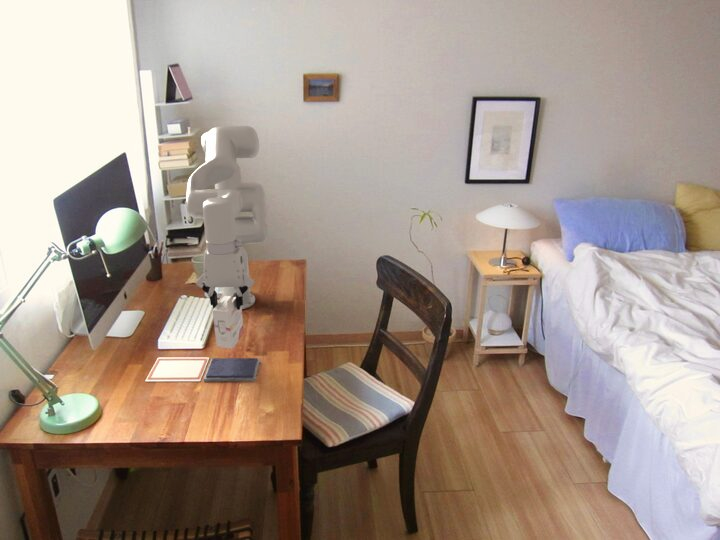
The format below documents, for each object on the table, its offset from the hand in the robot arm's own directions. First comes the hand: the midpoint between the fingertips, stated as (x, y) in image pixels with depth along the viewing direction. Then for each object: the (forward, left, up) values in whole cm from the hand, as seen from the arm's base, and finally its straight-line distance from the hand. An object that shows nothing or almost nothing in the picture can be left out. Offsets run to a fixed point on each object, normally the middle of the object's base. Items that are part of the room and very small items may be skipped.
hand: (227, 306), depth 153 cm
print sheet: (0, -15, -20) cm, 25 cm away
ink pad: (+1, 0, -20) cm, 20 cm away
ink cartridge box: (0, 0, -11) cm, 11 cm away
